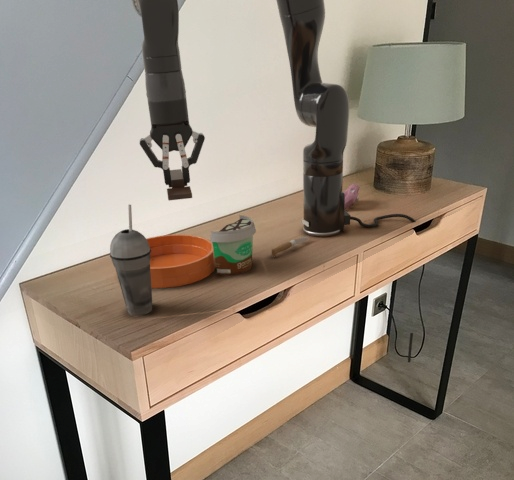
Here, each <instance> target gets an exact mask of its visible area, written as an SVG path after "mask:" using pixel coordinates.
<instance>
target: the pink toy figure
mask: <svg viewBox="0 0 514 480" xmlns="http://www.w3.org/2000/svg"><path fill="white" fill-rule="evenodd" d="M359 190H360V186H359V185H358V184H355V183H351V184H350V185H349V186H348V187H347V189H346V190H344V191H343V192H344V193H345V210H347V209H351V208H352V206H353V205H354V203H356V202H359V199H360V198H359V197H358V196H359Z"/></svg>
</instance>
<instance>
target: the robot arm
mask: <svg viewBox="0 0 514 480" xmlns="http://www.w3.org/2000/svg"><path fill="white" fill-rule="evenodd" d="M275 1H276V4H277V9H278V14H279V18H280V23H281V27H282V31H283V36H284V42H285V47H286V53H287V57H288V63H289V70H290V77H291V78H290V79H291V83H292V84H291V86H292V94H293V95H292V96H293V102H294V109H295V112H296V115H297V117H298V119H299V121H300V122H301V123H302V124H303V125H304V126H307V127H310V128H311V127H312V128H315V136H314V139H313V141H312V142H311V143H309V144H307V145H304V147H303V150H302V180H303V181H302V182H303V183H302V186H303V188H302V189H303V190H302V191H303V192H302V193H303V194H302V195H303V196H302V197H303V218H301V223H302V224H303V227H302V230H303V232H304V234H306V235H307V236H312V237H320V238H321V237H322V238H323V237H331V236H336V235H338V234H342V233H343V234H344V233H345V226H350V225H351V221H356V222H357V223H358V225H359V226H360V227H363V228H367V229H369V228H376V227H378V226H379V221H381V220H384V219H389V218H390V219H391V218H404V219H406V220H408V221H410V222H411V223H417V221H416V219H414V218H413V217H412V216H410V215H407V214H402V213H391V214H385V215H380V216H377V217H374V218H373V223H371V224H367V223H364V222H362V219H360V218H359V217H356V216H351V214H350V213H348V211H346V209H345V193H344V191H343V181H344V180H343V179H344V175H343V174H344V172H343V171H344V152H345V150H346V146H347V143H348V132H349V121H350V99H349V95H348V93H347V90H346V89H345V88H344V87H343V86H342V85H341V84H337V83H328V82H323V80H322V77H321V72H320V66H319V58H318V57H319V53H318V52H319V45H320V41H321V38H322V34H323V29H324V25H325V19H326V7H325V6H326V5H325V0H275ZM131 5H132V7H133V9H134V11H135V12H136V14H137V15H138V16H139V17H140V18H141V25H142V31H143V32H142V33H143V39H142V43H141V54H142V62H143V68H144V76H145V80H144V81H145V92H146V93H145V94H146V99H147V105H148V113H149V120H150V127H151V128H150V131H149V134H148V135H147V136H145V137H142V138H140V139H139V146H140V147H141V149H142V151H143V152H144V153H145V155H146V156H147V158H148V159H149V161H150V162H151V164H152V165H153V167H154V168H159V169H161V170H162V171H163V172H162V173H163V179H164V184H165V185H166V186H168V188H172V184H171V174H170V170H171V168H170V165H169V161H170V157H169V156H170V153H171V152H173V151H175V152H179V156H180V160H181V170H182V175H183V178H184V186H185V187H187V186H188V184H189V183H191V177H190V167H191V166H192V165H195V164H197V162H198V160H199V158H200V157H199V156H200V154H201V151H202V148H203V145H204V143H205V139H206V137H205V134H203V132H197V131H195V130H193V128H192V126H191V125H190V119H189V111H188V101H187V90H186V84H185V79H184V73H183V69H182V68H183V67H182V59H181V52H180V51H181V50H180V46H179V33H180V31H179V29H180V28H179V27H180V25H179V24H180V19H179V18H180V15H179V14H180V12H179V11H180V10H179V0H131ZM191 137H192V142H193V144H194V146H193V149H192V151H191V155H190V156H189V157H187V156H188V155H187V153H186V149H185V148H186V147H187V144H188V143H189V141H190V139H191ZM152 141H153V142H154V143H155V144H156V145H157V146H158V147H159V148H160V150H161V157H162V158H161V160H160V159H158V157H157V156H156V154H155V152H154V151H153V149H152V148H153V142H152ZM413 339H414V332H410V333H409V341H408V342H409V343H408V353H407V355H408V356H407V363H411V360H412V349H413Z"/></svg>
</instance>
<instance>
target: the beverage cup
mask: <svg viewBox="0 0 514 480" xmlns="http://www.w3.org/2000/svg"><path fill="white" fill-rule="evenodd" d="M127 209H128V210H127V211H128V212H127V213H128V228H127V229H123V230H120V231H119V232H117V233H115V235H114V236H113V237H112V240H111V241H110V246H109V257H110V259H111V262H112V264H113V267H114V268H115V272H116V275H117V280H118V283H119V287H120V290H121V294H122V297H123V301H124V305H125V307H126V310H127V313H128V314H129V315H131V316H144V315H146V314H149V313H151V312H152V311H153V293H152V292H153V290H152V289H153V288H151V272H150V262H151V254H150V253H151V249H150V247H149V243H148V241H147V237H145V235H144V234H143V233H142V232H140V231H139V230H136V229H133V215H132V214H133V213H132V212H133V211H132V204H128V205H127Z"/></svg>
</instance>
